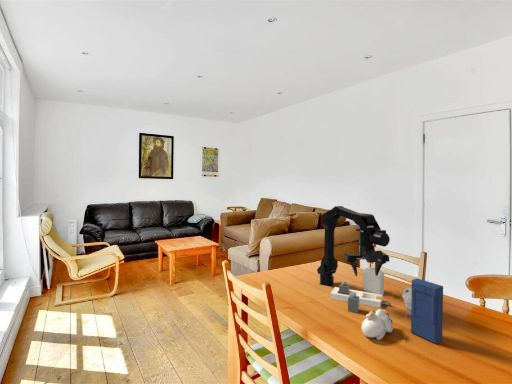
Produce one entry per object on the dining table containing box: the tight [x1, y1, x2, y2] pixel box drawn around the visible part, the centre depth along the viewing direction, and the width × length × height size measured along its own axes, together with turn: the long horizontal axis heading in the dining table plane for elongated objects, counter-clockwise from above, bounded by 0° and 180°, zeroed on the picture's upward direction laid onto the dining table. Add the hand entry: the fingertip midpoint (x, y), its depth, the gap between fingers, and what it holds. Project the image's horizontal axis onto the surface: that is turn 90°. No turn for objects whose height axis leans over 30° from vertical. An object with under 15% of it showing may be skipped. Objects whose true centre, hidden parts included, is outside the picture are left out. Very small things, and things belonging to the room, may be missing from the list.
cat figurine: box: [361, 308, 393, 341], centre depth 108 cm, size 10×8×15 cm
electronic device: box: [410, 278, 444, 345], centre depth 105 cm, size 10×5×20 cm, turn 31°
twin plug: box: [338, 280, 351, 295], centre depth 139 cm, size 4×4×8 cm
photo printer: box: [362, 267, 385, 296], centre depth 146 cm, size 10×4×12 cm, turn 39°
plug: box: [347, 293, 360, 314], centre depth 125 cm, size 4×4×8 cm
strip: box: [330, 286, 392, 309], centre depth 136 cm, size 26×9×4 cm, turn 61°
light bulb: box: [401, 287, 412, 317], centre depth 121 cm, size 7×7×12 cm
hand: (366, 275), depth 131 cm, fingers open, 9 cm apart
